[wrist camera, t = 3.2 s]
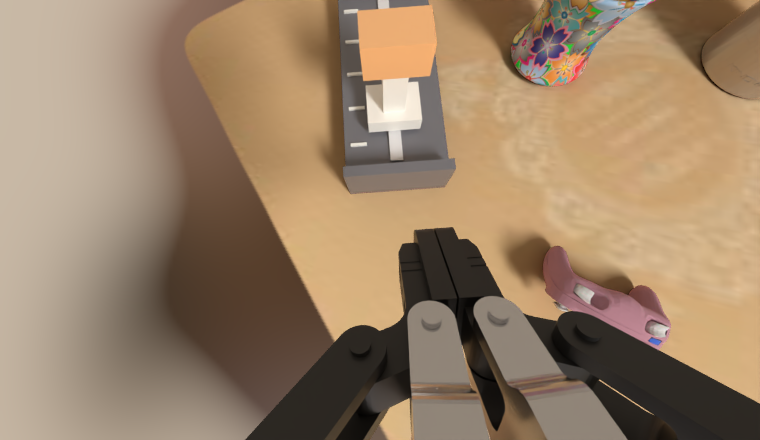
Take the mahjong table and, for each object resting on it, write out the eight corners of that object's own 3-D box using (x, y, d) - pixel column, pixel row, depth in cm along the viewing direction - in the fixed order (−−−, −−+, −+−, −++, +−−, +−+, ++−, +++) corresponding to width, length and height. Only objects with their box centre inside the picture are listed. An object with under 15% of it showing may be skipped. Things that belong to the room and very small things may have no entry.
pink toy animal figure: (524, 277, 29) (547, 312, 22) (549, 239, 28) (581, 265, 21) (618, 322, 28) (672, 374, 21) (648, 285, 27) (716, 328, 20)
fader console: (444, 187, 30) (455, 168, 25) (350, 194, 30) (343, 177, 25) (421, 2, 35) (427, -43, 30) (341, 9, 35) (334, -35, 30)
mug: (571, 106, 31) (663, 20, 21) (492, 77, 32) (543, -19, 22) (601, 24, 33) (698, -92, 23) (526, -1, 34) (586, -122, 24)
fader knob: (420, 128, 27) (438, 49, 18) (369, 132, 27) (360, 55, 18) (416, 92, 28) (431, -2, 19) (366, 96, 28) (356, 4, 19)
